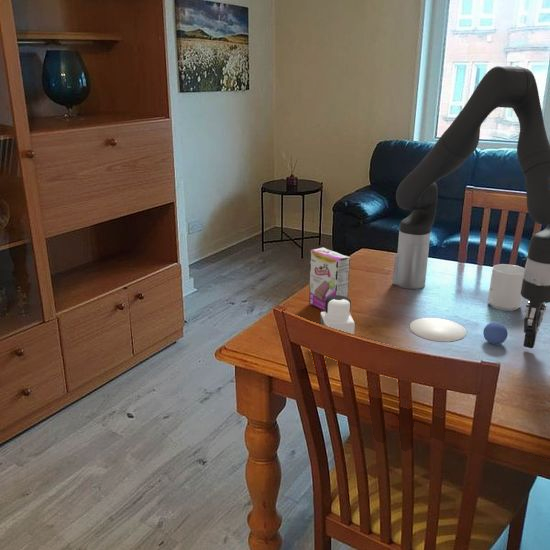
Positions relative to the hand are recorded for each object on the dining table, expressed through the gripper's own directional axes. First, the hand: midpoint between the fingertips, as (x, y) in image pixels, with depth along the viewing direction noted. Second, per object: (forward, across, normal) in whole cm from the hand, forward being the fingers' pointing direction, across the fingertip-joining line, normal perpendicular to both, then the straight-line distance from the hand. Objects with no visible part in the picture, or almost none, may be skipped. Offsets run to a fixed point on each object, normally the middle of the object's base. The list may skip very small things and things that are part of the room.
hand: (528, 346), depth 133 cm
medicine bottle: (+2, +22, -40) cm, 46 cm away
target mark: (+1, 0, -22) cm, 22 cm away
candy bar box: (+2, +4, -52) cm, 52 cm away
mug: (+2, -28, -12) cm, 30 cm away
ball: (-2, 0, -8) cm, 8 cm away
